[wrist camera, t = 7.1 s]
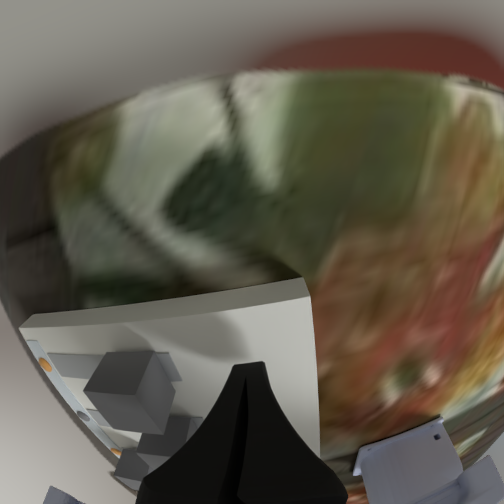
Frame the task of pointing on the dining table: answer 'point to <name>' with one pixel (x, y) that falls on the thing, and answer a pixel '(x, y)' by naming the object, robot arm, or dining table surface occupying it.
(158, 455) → the dark gray cube
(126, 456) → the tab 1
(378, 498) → the robot arm
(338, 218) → the dining table surface
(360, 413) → the dining table surface
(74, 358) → the switch panel
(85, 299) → the dining table surface
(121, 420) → the gray cube
